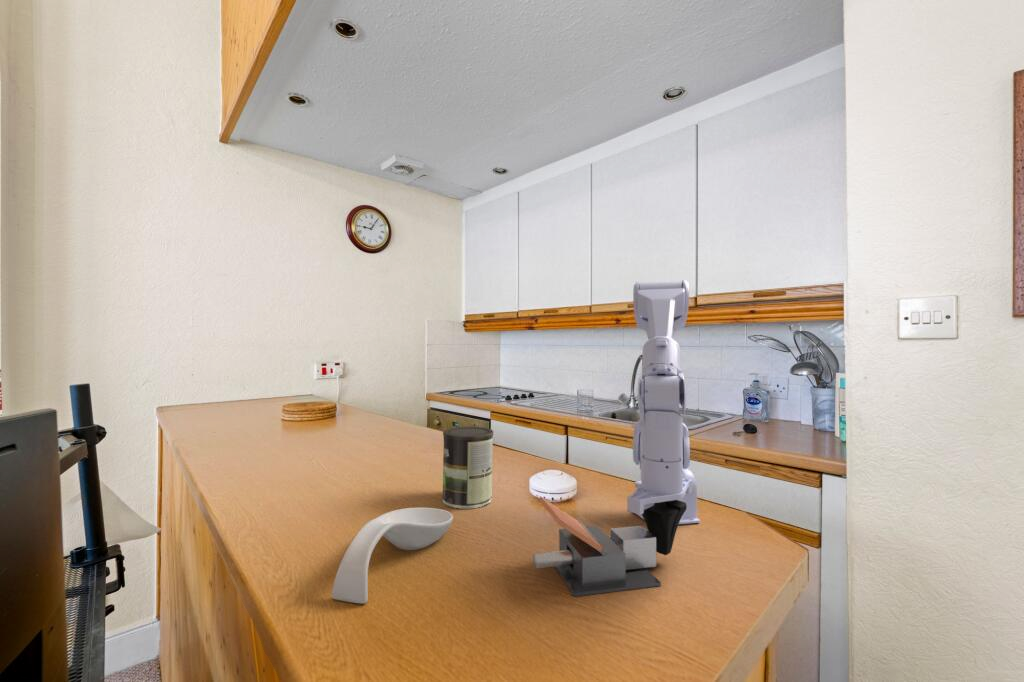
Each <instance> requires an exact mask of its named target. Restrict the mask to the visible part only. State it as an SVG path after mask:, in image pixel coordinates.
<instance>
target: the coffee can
mask: <svg viewBox="0 0 1024 682" xmlns="http://www.w3.org/2000/svg"><path fill="white" fill-rule="evenodd" d="M442 437H443V453H442V454H443V457H442V459H443V460H442V462H443V463H442V499H441V501H443V502H442V504H443V503H444V505H445V504H446V505H447V506H446V505H445V506H446V507H448V506H450V507H449V508H452V507H453V508H452V509H456V508H459V509H460V510H472V509H471V508H475V509H479V508H478V507H480V508H483V507H485V506H484V505H486V504H488V503H490V502H492V501H493V496H492V495H493V491H492V489H493V442H494V441H493V440H494V439H493V438H494V430H493V429H491V428H487V427H481V426H460V427H452V428H448V429H444V430H443V433H442ZM491 500H492V501H491ZM490 504H491V503H490ZM488 505H489V504H488ZM482 506H483V507H482ZM486 506H487V505H486ZM459 509H458V510H459Z"/></svg>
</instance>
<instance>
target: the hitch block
mask: <svg viewBox="0 0 1024 682" xmlns="http://www.w3.org/2000/svg"><path fill="white" fill-rule="evenodd" d="M585 527H586V528H587V529H588V530H589V531H590V532H591V533H592V534H593V535H594V537H595V538H596V539H597V540H598V541H599V542H600V543H601V544H602V545H603V546H604V547H605V548H606V549H607V550H608V554H607V555H606V556H603V555H602V554H601V553H600V552H599V551H598V550H596V549H595V548H593V547H592V546H590V545H589V544H587V543H586V542H584V541H583V540H581V539H580V538H578V537H577V536H575V535H574V534H572V533H571V532H569V531H568V530H566V529H565V528H559V530H558V551H562V550H572V552H573V564H571V565H561V566H554V567H555V569H556V571H557V572H558V574H559V576H560V577H561V579H562V580H563V582H564V583H565V585H566V586H567V588H568V590H569V591H570V593H571V595H572V596H573V597H574V598H575V597H583V596H589V595H599V594H605V593H613V592H615V593H616V592H623V591H630V590H639V589H645V588H646V589H647V588H652V587H653V588H654V587H661V586H662V584H661V581H660V580H659V579H658V578H657V577H655V575H653V574H652V573H651V571H649V570H648V568H638V569H629V570H626V553H624V552H623V551H622V550H621V549H620V548H619V547H618V546H617V545H616V544H615V543H614V542H613V541H612V540H611V539H610V536H608V535H607V534H606V533H605V532H604V531H603V530H602V529H601V528H600V527H599V526H598V525H589V526H585Z"/></svg>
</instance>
